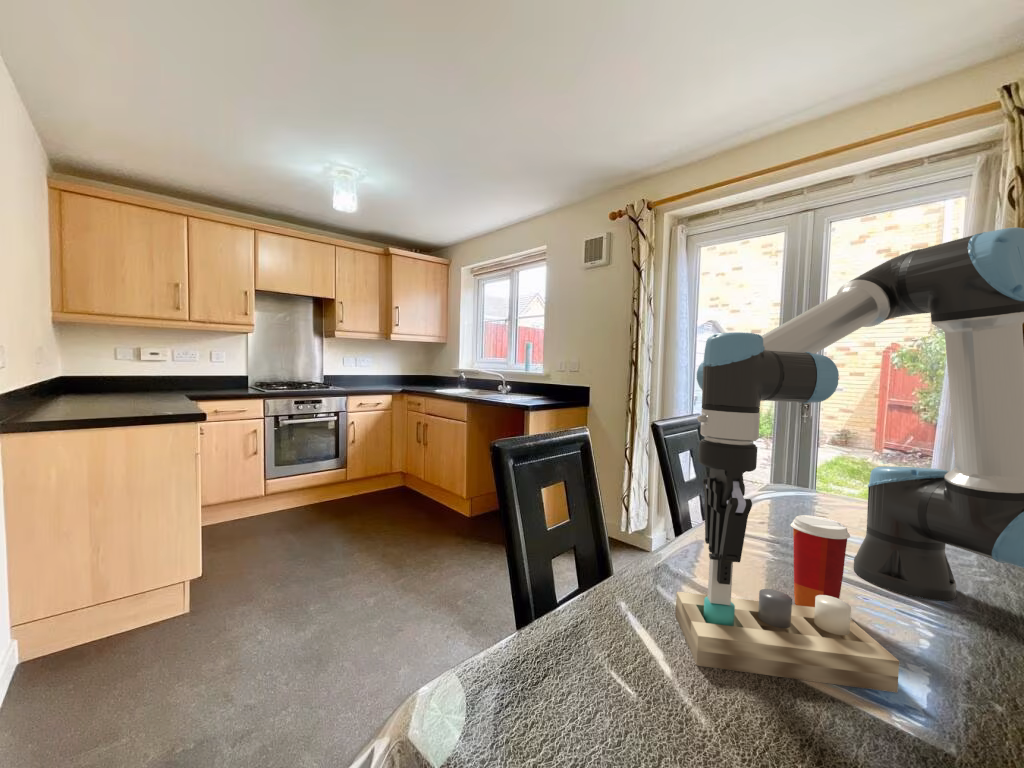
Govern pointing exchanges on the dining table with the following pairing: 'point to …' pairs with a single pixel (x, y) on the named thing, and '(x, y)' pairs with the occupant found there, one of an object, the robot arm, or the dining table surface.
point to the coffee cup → (818, 558)
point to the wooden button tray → (785, 647)
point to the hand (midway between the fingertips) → (718, 601)
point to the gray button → (775, 608)
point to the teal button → (718, 613)
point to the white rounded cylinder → (832, 614)
